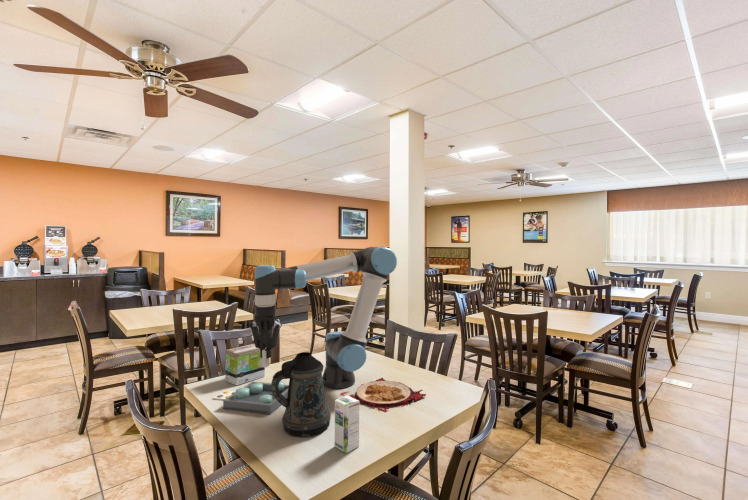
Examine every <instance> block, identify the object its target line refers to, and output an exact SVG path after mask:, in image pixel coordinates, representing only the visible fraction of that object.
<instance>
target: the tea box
mask: <svg viewBox="0 0 748 500" xmlns="http://www.w3.org/2000/svg"><path fill="white" fill-rule="evenodd" d="M224 367H225V368H224V369H225V371H224V372H225V374H224V378H225V379H224V381H225V382H226V383H229V384H232V385H234V386H236V387H237V386H239V385H242V384H246V383H248V382H253V381H255V380H258V379H262V378H265V376H266V375H265V374H266V373H265V371H266V368H265V367H262V358H261V357H260V349H259V348H256V347H255V343H251V344H247V345H243V346H242V345H241V346H238V347H233V348H229V349H226V350H225V366H224Z"/></svg>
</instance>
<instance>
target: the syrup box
mask: <svg viewBox="0 0 748 500" xmlns="http://www.w3.org/2000/svg"><path fill="white" fill-rule="evenodd" d="M333 443H334V444H333V445H334V448H336V449H338V450H340V451H341V452H343V453H344V454H347V453H350V452H352V451H353V450H355V449H357V448H359V447H360V404H359V400H356V398H355V399H354V398H352V397H350V396H349V395H345V396H342V397H339V398H337V399H334V442H333Z"/></svg>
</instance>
